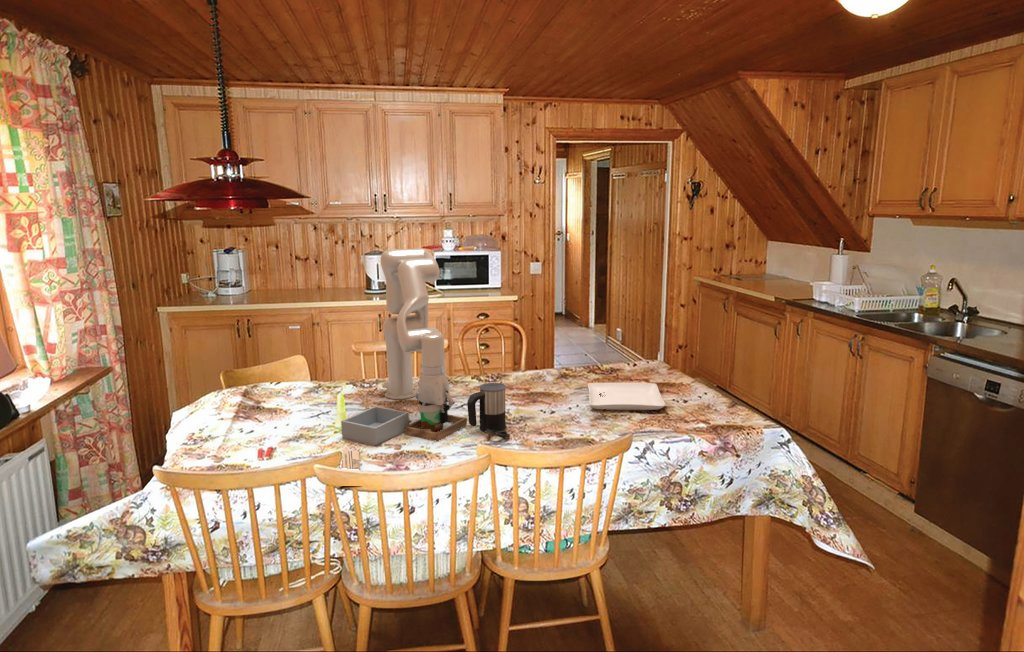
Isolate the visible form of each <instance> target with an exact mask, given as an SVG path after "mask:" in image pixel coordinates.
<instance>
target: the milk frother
mask: <svg viewBox="0 0 1024 652" xmlns="http://www.w3.org/2000/svg"><path fill="white" fill-rule="evenodd" d="M478 388H479V391H478V392H474V393H472V394H470V396H469V397H468V399H467V402H466V403H467V404H466V405H467V416H468V417H467V418H468V424H469V426H472V427H476V426H477V424H478V423H477V410H476V409H477V408H476V404H477V402H479V429H480V430H481V431H482V432H484V433H487V434H490V435H493V436H495V437H499V438H501V439H504V440H505V439H506V438H511V437H510V436H511V434H510V432H507V431H506V430H507V428H508V427H507V423H506V421H507V420H506V419H507V418H506V388H507V386H506V384H504V383H501V382H500V383H499V382H486V383H483V384H480V385H479V386H478Z"/></svg>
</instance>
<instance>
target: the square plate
mask: <svg viewBox="0 0 1024 652" xmlns="http://www.w3.org/2000/svg"><path fill="white" fill-rule="evenodd" d="M587 388H588V396H589V397H588V405H589V406H590V407H591V408H592V409H595V410H604V409H606V410H605V411H607V410H608V411H654V410H657V411H658V410H661V409H662V408H664V407H666V402H665V401H664V398H663V397H662V395H661V392H660V390H659V387H658V384H657V383H656V382H655V383H653V382H650V383H649V382H646V383H645V382H589V383H587ZM599 392H600V393H602V394H603V395H604V394H605V395H606V396H605V395H604V396H605V397H604V396H603V397H602V396H601V397H600V395H599V394H600V393H599ZM603 392H605V393H603Z"/></svg>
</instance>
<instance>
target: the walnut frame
mask: <svg viewBox="0 0 1024 652" xmlns="http://www.w3.org/2000/svg"><path fill="white" fill-rule="evenodd" d="M467 418H468V417H463V416H458V415H453V414H448V421H447V422H446V423H450V422H453V423H451V425H448V426H447V427H446V428H443V429H442V430H441V431H439V432H431V431H427V430H422V426H421V418H420V419H418V420H416V421H414V422H412V423H409V425H408V426H406V427H405V432H404V434H405V435H408V436H411V437H417V438H421V439H425V438H426V440H430V439H431V440H432V441H434V440H436V441H435V442H440V441H441V439H442V440H443V439H445V438H447V437H448V435H449V436H450V435H452V434H453V432H454V433H455V432H457V431H459V430H460V428H461V427H462V428H464V427H466V426H467V425H468V419H467ZM466 424H467V425H466ZM465 425H466V426H465ZM463 426H464V427H463ZM462 428H461V429H462ZM458 429H459V430H458ZM456 430H457V431H456ZM446 436H447V437H446ZM431 440H430V441H431ZM439 440H440V441H439Z"/></svg>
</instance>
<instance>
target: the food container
mask: <svg viewBox="0 0 1024 652" xmlns="http://www.w3.org/2000/svg"><path fill="white" fill-rule="evenodd" d="M443 406H444V404H443ZM444 408H445V407H444ZM418 412H419V415H420V419H421V426H422V427H421V429H422V430H427V431H431V432H436V433H438V431H439V432H440V430H441V431H442V430H443V429H444V424H441V423H440V413H441V412H442V411H441V408H440V406H438V405H433V404H427V403H426V404H425V405H424V406H421V405H419V410H418Z"/></svg>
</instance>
